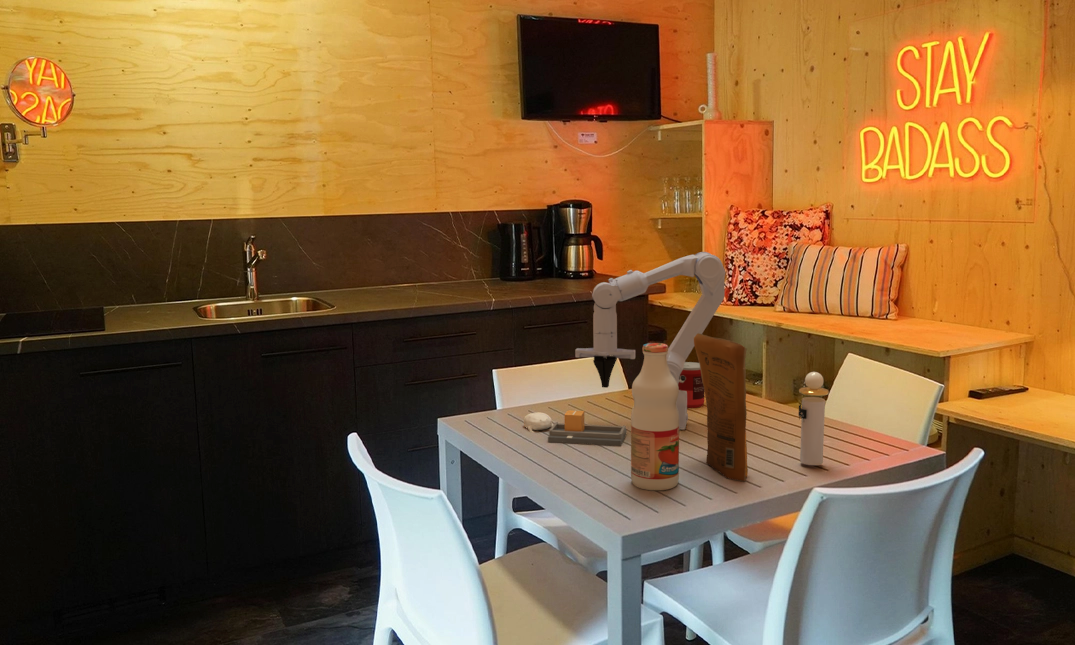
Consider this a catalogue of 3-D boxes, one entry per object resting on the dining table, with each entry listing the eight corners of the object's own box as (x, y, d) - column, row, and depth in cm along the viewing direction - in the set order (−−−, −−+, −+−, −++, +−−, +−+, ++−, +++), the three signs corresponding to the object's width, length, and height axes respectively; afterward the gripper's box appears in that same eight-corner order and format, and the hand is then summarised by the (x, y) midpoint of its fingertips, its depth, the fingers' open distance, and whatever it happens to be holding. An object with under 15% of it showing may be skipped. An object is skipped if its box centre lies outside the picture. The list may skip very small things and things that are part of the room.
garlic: (558, 430, 206) (558, 415, 205) (533, 434, 203) (532, 419, 202) (544, 423, 213) (543, 408, 212) (519, 426, 210) (519, 411, 209)
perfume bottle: (821, 460, 179) (824, 368, 176) (829, 469, 173) (833, 374, 170) (793, 460, 179) (796, 369, 176) (801, 469, 174) (804, 375, 171)
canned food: (673, 400, 231) (674, 361, 230) (703, 401, 230) (704, 362, 229) (674, 408, 224) (674, 367, 222) (705, 408, 223) (705, 368, 221)
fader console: (626, 433, 201) (626, 423, 201) (620, 446, 192) (620, 435, 191) (557, 430, 205) (557, 420, 205) (548, 442, 196) (547, 432, 195)
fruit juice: (637, 473, 173) (637, 339, 169) (683, 478, 170) (684, 342, 166) (625, 488, 165) (625, 348, 160) (672, 494, 161) (674, 350, 157)
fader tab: (584, 429, 200) (584, 410, 200) (581, 433, 197) (581, 415, 196) (568, 428, 201) (567, 410, 201) (564, 432, 198) (564, 414, 197)
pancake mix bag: (727, 486, 165) (730, 346, 161) (689, 456, 183) (690, 330, 179) (759, 483, 166) (762, 344, 162) (718, 454, 185) (720, 328, 180)
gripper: (572, 334, 203) (573, 389, 205) (632, 335, 199) (632, 391, 201) (578, 329, 209) (578, 382, 212) (636, 330, 206) (636, 384, 208)
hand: (605, 386), depth 207 cm, fingers closed
